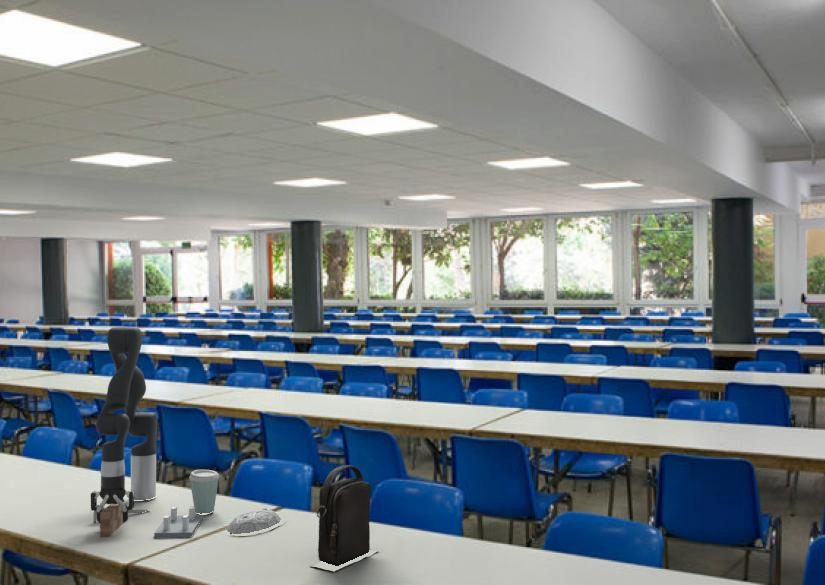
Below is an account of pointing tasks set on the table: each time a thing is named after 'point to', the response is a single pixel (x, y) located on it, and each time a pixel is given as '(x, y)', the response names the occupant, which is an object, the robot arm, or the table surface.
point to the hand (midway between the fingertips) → (112, 522)
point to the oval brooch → (253, 521)
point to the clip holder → (178, 524)
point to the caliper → (128, 512)
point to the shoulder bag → (343, 518)
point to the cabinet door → (110, 520)
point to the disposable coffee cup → (204, 490)
